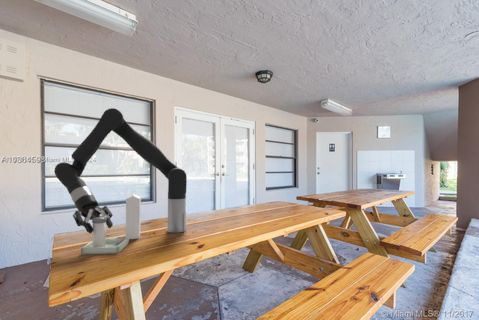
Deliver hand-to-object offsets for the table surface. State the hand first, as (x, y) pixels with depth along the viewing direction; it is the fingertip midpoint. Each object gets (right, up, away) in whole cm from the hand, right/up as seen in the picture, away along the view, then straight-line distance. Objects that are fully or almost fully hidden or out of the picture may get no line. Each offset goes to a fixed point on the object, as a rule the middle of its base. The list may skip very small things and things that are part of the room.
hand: (101, 229), depth 100 cm
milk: (+5, -9, +17) cm, 20 cm away
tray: (+1, -9, +2) cm, 9 cm away
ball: (+5, -7, +5) cm, 9 cm away
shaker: (-1, -8, 0) cm, 8 cm away
